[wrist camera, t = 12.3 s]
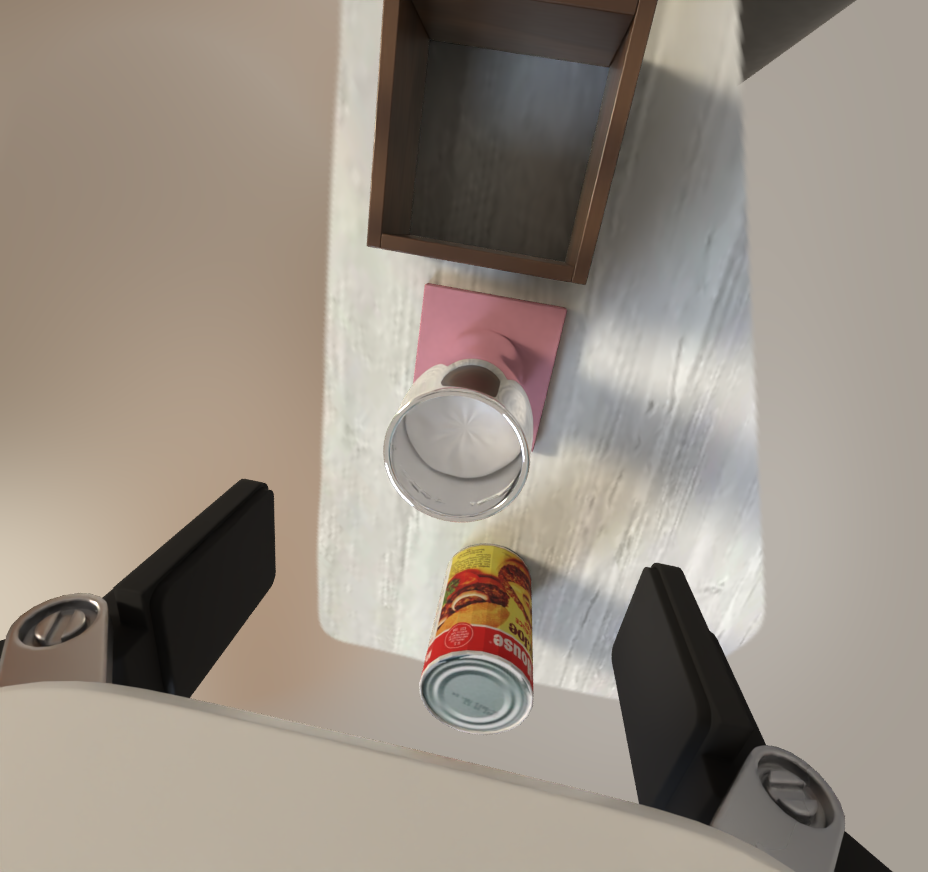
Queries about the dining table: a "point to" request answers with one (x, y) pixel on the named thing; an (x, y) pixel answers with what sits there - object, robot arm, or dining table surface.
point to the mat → (512, 318)
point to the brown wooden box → (512, 30)
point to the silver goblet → (463, 432)
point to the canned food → (481, 643)
